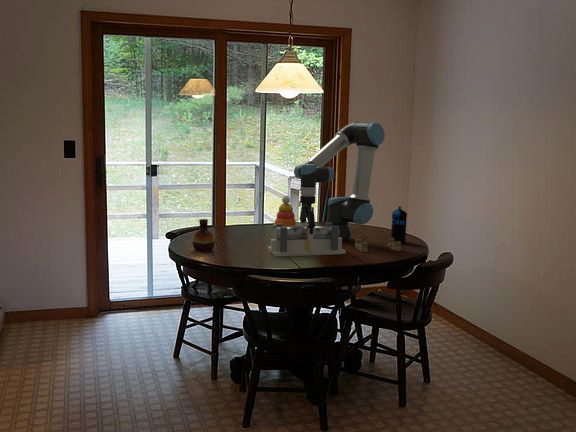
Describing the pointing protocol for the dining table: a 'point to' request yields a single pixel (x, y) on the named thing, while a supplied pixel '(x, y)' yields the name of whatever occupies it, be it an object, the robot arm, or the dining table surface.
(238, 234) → the dining table surface
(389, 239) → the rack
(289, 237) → the tube
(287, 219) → the stacking toy
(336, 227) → the white cradle stand
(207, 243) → the vase
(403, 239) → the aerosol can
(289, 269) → the dining table surface
